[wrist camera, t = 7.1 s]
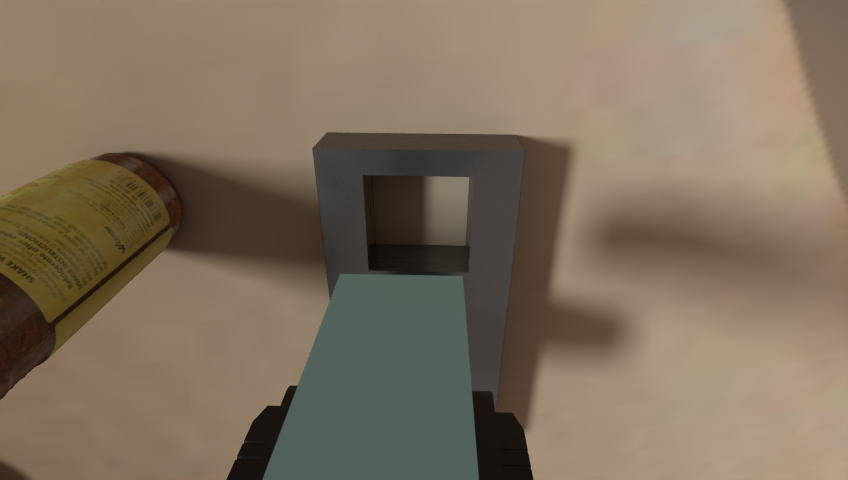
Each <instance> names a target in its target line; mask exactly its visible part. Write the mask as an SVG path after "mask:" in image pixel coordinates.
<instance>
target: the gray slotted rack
mask: <svg viewBox="0 0 848 480" xmlns="http://www.w3.org/2000/svg"><path fill="white" fill-rule="evenodd" d="M312 149H313V157H314V166H315V175H316V183H317V192H318V201H319V210H320V218H321V227H322V236H323V244H324V253H325V262H326V270H327V279H328V288H329V297H330V299H331V297H332V294H333V291H334V289H335V286H336V283H337V281H338V278H339V275H340V274H379V275H434V276H463V285H464V297H465V310H466V322H467V335H468V348H469V360H470V373H471V386H472V391H492V393H493V399H494V407H495V412H496V407H497V398H498V389H499V380H500V372H501V363H502V354H503V345H504V336H505V327H506V318H507V309H508V300H509V291H510V282H511V273H512V264H513V255H514V246H515V237H516V229H517V220H518V211H519V202H520V193H521V184H522V175H523V166H524V157H525V150H524V148H523V147H522V145H521V143H520V142H519V140H518V138H517V137H516V135H478V134H396V133H326V134H325V135H324V136H323V137H322V139H321V140H320V141H319V142H318V143H317V144H316V145H315V146H314V147H313V148H312ZM372 175H381V176H448V177H469V195H468V213H467V232H466V246H434V245H382V244H376V239H375V220H374V201H373V182H372Z"/></svg>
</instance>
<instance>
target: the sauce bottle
mask: <svg viewBox="0 0 848 480" xmlns="http://www.w3.org/2000/svg"><path fill="white" fill-rule="evenodd" d="M181 215H182V207H181V204H180V201H179V198H178V195H177V194H176V193H175V190H174V189H173V188H172V187H171V185H170V183H169V181H168V180H167V179H166V177H165V176H163V175H162V174H161V173H160V172H159V171H158V170H156V169H155V168H154V167H152V166H151V165H150V164H149V163H147V162H144V161H141V160H139V159H138V158H135V157H133V156H127V155H124V154H118V153H106V154H103V155H100V156H97V157H94V158H91V159H89V160H81V161H77V162H74V163H72V164H69V165H67V166H65V167H63V168H61V169H58V170H56V171H54V172H52V173H50V174H48V175H45V176H43V177H41V178H39V179H37V180H35V181H33V182H30V183H28V184H26V185H24V186H22V187H20V188H18V189H16V190H14V191H12V192H10V193H8V194H6V195H3V196H1V197H0V400H1V399H2V398H3V397H4V396H5V395H6V393H7V392H8V391H9V390H10V389H12V388H13V387H14V385H15V384H16V383H17V382H18V381H19V380H21V379H22V378H24V377H25V376H26V375H27V373H29V372H30V371H31V370H32V369H33V368H34V367H36V366H38V365H40V364H41V363H43V362H44V361H46V360H47V359H48V358H49V357H50V356H51V355H52V354H53V353H54V352H55V351H57V350H58V349H59V348H60V347H61V346H62V345H63V344H64V343H65V342H66V341H67V340H68V339H69V338H70V337H71V336H73V335H74V334H75V333H76V332H77V331H78V330H79V329H80V328H81V327H82V326H83V325H84V324H85V323H86V322H87V321H89V320H90V319H91V318H92V317H93V316H94V315H95V314H96V313H97V312H98V311H99V310H100V309H101V308H102V307H104V306H105V305H106V304H107V303H108V302H109V301H110V300H111V299H112V298H113V297H114V296H115V295H116V294H117V293H118V292H119V291H120V290H122V289H123V288H124V287H125V286H126V285H127V284H128V283H129V282H130V281H131V280H132V279H133V278H134V277H135V276H136V275H138V274H139V273H140V272H141V271H142V270H143V269H144V268H145V267H146V266H147V265H148V264H149V263H150V262H151V261H152V260H154V259H155V258H156V257H157V256H158V255H159V254H160V253H161V252H162V251H163V250H164V249H165V248H166V246H167V245H168V244H169V243H170V242H171V241H172V239H173V237H174V235H175V234H176V232H177V231H178V227H179V224H180V221H181Z"/></svg>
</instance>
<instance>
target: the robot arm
mask: <svg viewBox="0 0 848 480" xmlns="http://www.w3.org/2000/svg"><path fill="white" fill-rule="evenodd" d="M297 387H298V386H289V387H288V389H287V391H286V393H285V396H284V398H283V401H282V403H281V406H267V407H266V408H265V409H264V410H263V411H262V412H261V413H260V415H259V416H258V417H257V418H256V419H255V420H254V421H253V422H252V424H251V427H250V429H249V431H248V433H247V436H246V438H245V440H244V444H242V447H241V449H240V451H239V453H238V455H237V460H235V462H234V464H233V466H232V469H231V471H230V473H229V475H228V477H227V480H263V477H264V474H265V472H266V469H267V466H268V464H269V461H270V458H271V456H272V453H273V450H274V448H275V445H276V442H277V440H278V437H279V434H280V432H281V429H282V427H283V424H284V421H285V419H286V416H287V413H288V411H289V408H290V405H291V403H292V400H293V397H294V395H295V392H296V389H297ZM472 398H473V411H474V424H475V436H476V449H477V462H478V474H479V480H533V475H532V470H531V465H530V460H529V455H528V451H527V450H528V449H527V444H526V439H525V434H524V430H523V428H522V427H521V425H520V424H519V422H518V421H517V419H516V417H515V416H514V414H513V413H497V412H495V407H494V399H493V393H492V391H472Z"/></svg>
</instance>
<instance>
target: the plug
mask: <svg viewBox="0 0 848 480" xmlns="http://www.w3.org/2000/svg"><path fill="white" fill-rule="evenodd" d="M263 480H479V474H478V462H477V449H476V436H475V424H474V411H473V398H472V386H471V373H470V360H469V348H468V335H467V322H466V310H465V297H464V285H463V276H434V275H379V274H340V275H339V278H338V281H337V283H336V286H335V289H334V291H333V294H332V297H331V299H330V302H329V305H328V307H327V310H326V312H325V315H324V318H323V320H322V323H321V326H320V328H319V331H318V334H317V336H316V339H315V342H314V344H313V347H312V350H311V352H310V355H309V358H308V360H307V363H306V366H305V368H304V371H303V373H302V376H301V379H300V381H299V384H298V387H297V389H296V392H295V395H294V397H293V400H292V403H291V405H290V408H289V411H288V413H287V416H286V419H285V421H284V424H283V427H282V429H281V432H280V434H279V437H278V440H277V442H276V445H275V448H274V450H273V453H272V456H271V458H270V461H269V464H268V466H267V469H266V472H265V474H264V477H263Z"/></svg>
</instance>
